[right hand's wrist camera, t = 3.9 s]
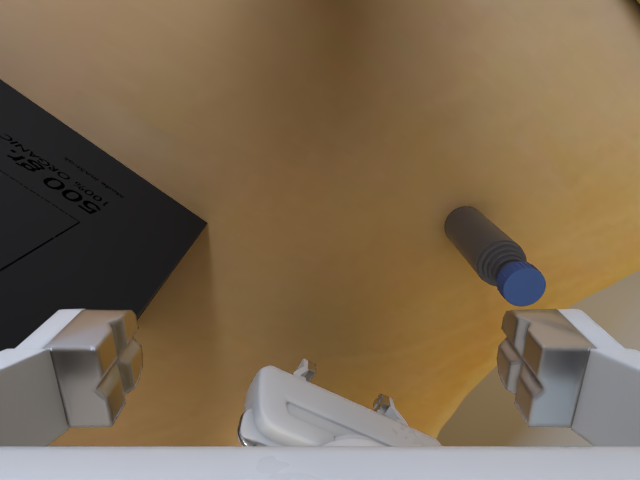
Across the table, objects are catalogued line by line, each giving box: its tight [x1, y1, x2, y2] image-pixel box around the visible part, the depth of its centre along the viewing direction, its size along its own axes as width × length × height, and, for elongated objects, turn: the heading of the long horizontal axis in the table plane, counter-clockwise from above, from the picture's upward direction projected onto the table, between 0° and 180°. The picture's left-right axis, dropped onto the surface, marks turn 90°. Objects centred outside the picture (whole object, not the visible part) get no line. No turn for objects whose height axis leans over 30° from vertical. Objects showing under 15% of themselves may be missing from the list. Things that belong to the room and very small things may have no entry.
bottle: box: [445, 207, 526, 286], centre depth 51 cm, size 5×5×18 cm
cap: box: [496, 261, 546, 306], centre depth 43 cm, size 4×4×2 cm
